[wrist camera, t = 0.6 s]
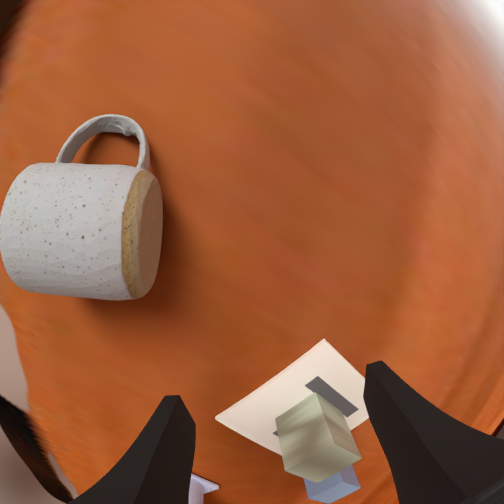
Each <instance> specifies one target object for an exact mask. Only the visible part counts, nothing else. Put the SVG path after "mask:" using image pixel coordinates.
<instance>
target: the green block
mask: <svg viewBox="0 0 504 504" xmlns="http://www.w3.org/2000/svg"><path fill="white" fill-rule="evenodd" d="M275 421H276V426H277V432H278V437H279V442H280V448H281V453H282V458H283V463H284V469H285V471H287V472H289V473H291V474H294V475H297V476H299V477H302V478H305V479H307V480H310V481H313V482H316V483H318V482H320V481H322V480H324V479H326V478H328V477H330V476H332V475H334V474H336V473H338V472H339V471H341V470H343V469H345V468H347V467H348V466H350V465H352V464H353V463H355V462H357V461H358V460H360V459H362V457H361V455H360V452H359V450H358V448H357V445H356V443H355V441H354V439H353V436H352V434H351V432H350V429H349V427H348V425H347V423H346V420H345V418H344V416H343V413H342V412H341V411H340V410H339V409H337V408H336V407H335V406H333V405H332V404H331V403H329V402H328V401H327V400H325V399H324V398H323V397H321V396H320V395H319V394H317V393H316V392H314V393H313V394H311V395H310V396H309V397H307V398H306V399H304V400H303V401H301V402H300V403H298V404H297V405H295V406H294V407H292V408H291V409H289V410H288V411H286V412H285V413H283V414H282V415H280V416H278V417H277V418H275Z"/></svg>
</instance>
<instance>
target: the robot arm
mask: <svg viewBox="0 0 504 504" xmlns="http://www.w3.org/2000/svg"><path fill="white" fill-rule="evenodd" d="M363 399H364V403H365V406H366V409H367V413H368V416H369V419H370V421H371V423H372V426H373V428H374V430H375V433H376V435H377V437H378V439H379V442H380V444H381V446H382V448H383V451H384V453H385V455H386V458H387V460H388V463H389V465H390V468H391V472H392V475H393V479H394V482H395V486H396V490H397V495H398V499H399V504H504V440H503V439H500V438H497V437H494V436H491V435H488V434H485V433H483V432H481V431H478V430H476V429H474V428H472V427H469V426H467V425H465V424H463V423H462V422H460V421H458V420H456V419H454V418H453V417H451V416H449V415H448V414H446V413H444V412H443V411H441V410H440V409H438V408H437V407H436V406H434V405H433V404H432V403H430V402H429V401H427V400H426V399H425V398H424V397H422V396H421V395H420V394H419V393H417V392H416V391H415V390H414V389H413V388H411V387H410V386H409V385H408V384H407V383H406V382H404V381H403V380H402V379H401V378H400V377H399V376H398V375H397V374H396V373H395V372H393V371H392V370H391V369H390V368H389V367H388V366H387V365H386V364H385V363H384V362H383V361H377V362H374V363H371V364H367V366H366V375H365V384H364V393H363ZM195 438H196V424H195V422H194V421H193V419H192V417H191V415H190V414H189V412H188V410H187V408H186V406H185V405H184V403H183V401H182V399H181V397H180V395H171V396H165V397H164V398H163V399H162V401H161V402H160V404H159V406H158V407H157V409H156V410H155V412H154V413H153V415H152V417H151V418H150V420H149V421H148V423H147V424H146V426H145V427H144V429H143V430H142V432H141V433H140V434H139V436H138V437H137V439H136V440H135V441H134V443H133V444H132V445H131V447H130V448H129V449H128V450H127V452H126V453H125V454H124V456H123V457H122V458H121V459H120V460H119V461H118V462H117V464H116V465H115V466H114V467H113V468H112V469H111V470H110V471H109V472H108V473H107V474H106V475H105V476H104V477H103V478H101V479H100V480H99V481H98V482H97V483H96V484H95V485H93V486H92V487H91V488H90V489H88V490H87V491H85V492H84V493H83V494H81V495H80V496H79V497H77V498H76V499H74V500H72V501H71V502H69V503H67V504H203V497H204V494H205V493H208V492H211V491H214V490H216V489H219V485H217V484H215V483H212V482H210V481H208V480H205V479H203V478H201V477H199V476H196V475H194V474H192V467H193V460H194V452H195Z"/></svg>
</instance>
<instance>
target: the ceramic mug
mask: <svg viewBox="0 0 504 504" xmlns="http://www.w3.org/2000/svg"><path fill="white" fill-rule="evenodd" d="M101 132H115V133H122V134H124V135H126V136H130V135H135V136H136V137H137V138H138V140H139V142H140V154H139V159H138V165H137V167H132V166H126V165H97V164H78V163H71V162H72V160H73V158H74V156H75V154H76V153H77V151H78V150H79V148H80V147H81V146H82V144H83V143H85V142H86V141H87V140H88V139H89V138H91V137H92V136H93V135H95V134H97V133H101ZM149 165H150V152H149V145H148V142H147V138H146V135H145V134H144V131H143V130H142V128H141V127H140V126H139V124H137V123H136V122H135V121H134V120H133V119H131V118H128V117H126V116H123V115H116V114H108V115H101V116H97V117H94V118H92V119H90V120H88V121H86V122H85V123H83V124H82V125H81V126H79V127H78V128H77V129H76V130H75V131H74V132H73V133H72V134H71V135H70V137H69V138H68V139H67V141H66V142H65V144H64V145H63V147H62V149H61V151H60V153H59V155H58V157H57V159H56V161H55V163H37V164H33V165H30V166H28V167H27V168H26V169H24V170H23V171H22V172H21V173H20V174H19V175H18V176H17V178H16V179H15V180H14V182H13V183H12V185H11V187H10V189H9V191H8V193H7V195H6V198H5V201H4V204H3V208H2V212H1V216H0V251H1V256H2V260H3V263H4V266H5V269H6V271H7V273H8V275H9V276H10V278H11V280H12V281H13V282H14V283H15V284H16V285H17V286H18V287H20V288H21V289H23V290H25V291H28V292H35V293H45V294H52V295H62V296H71V297H83V298H93V299H102V300H129V299H138V298H141V297H143V296H144V295H146V294H147V293H148V292H149V290H150V289H151V288H152V286H153V284H154V281H155V278H156V274H157V270H158V265H159V259H160V252H161V243H162V229H163V201H162V193H161V187H160V185H159V182H158V180H157V179H156V178H155V176H154V175H153V174H152V173H150V172H149V171H148V168H149Z"/></svg>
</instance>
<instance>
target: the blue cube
mask: <svg viewBox="0 0 504 504" xmlns="http://www.w3.org/2000/svg"><path fill="white" fill-rule="evenodd" d="M303 479H304V483H305V487H306V491H307V495H308V499H312V500H316V501H320V502H324V503H328V504H330V503H332V502H334V501H336V500H338V499H340V498H342V497H344V496H346V495H348V494H350V493H352V492H354V491H356V490H358V489H360V488H361V487H360V484H359V481H358V479H357V476H356V474H355V471H354V468H353V466H352V465H350V466H348V467H347V468H345V469H343V470H341V471H339V472H338V473H336V474H334V475H332V476H330V477H328V478H326V479H324V480H322V481H320V482H318V483H316V482H313V481H310V480H307V479H305V478H303Z"/></svg>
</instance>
